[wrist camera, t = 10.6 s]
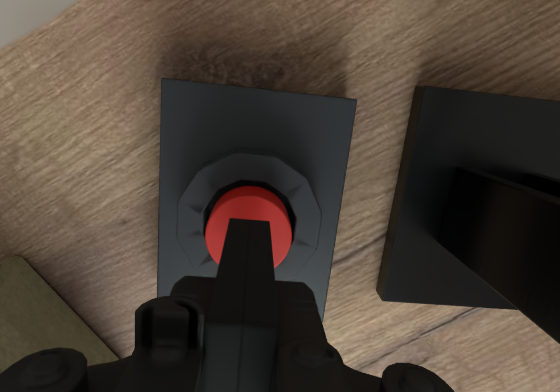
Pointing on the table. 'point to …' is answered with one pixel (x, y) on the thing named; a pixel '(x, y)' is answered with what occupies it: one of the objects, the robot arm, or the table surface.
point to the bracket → (477, 206)
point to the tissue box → (40, 319)
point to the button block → (250, 172)
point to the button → (249, 206)
